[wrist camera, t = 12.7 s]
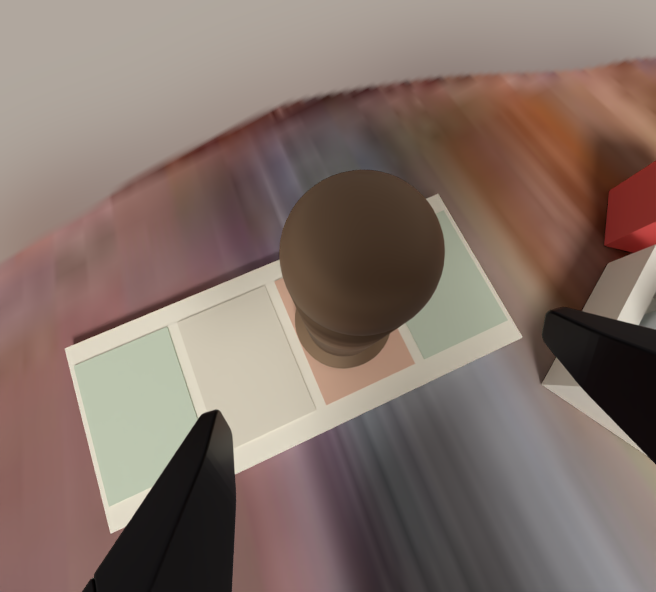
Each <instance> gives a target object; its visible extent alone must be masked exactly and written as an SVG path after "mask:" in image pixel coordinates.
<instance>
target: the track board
mask: <svg viewBox="0 0 656 592" xmlns="http://www.w3.org/2000/svg"><path fill="white" fill-rule="evenodd" d="M426 200H427V201H428V202H429V204H430V205H431V207H432V208H433V210H434V212H435V214H436V216H437V218H438V220H439V223H440V226H441V229H442V232H443V237H444V245H445V258H444V267H443V271H442V275H441V278H440V281H439V283H438V286H437V288H436V290H435V292H434V294H433V295H432V297H431V299H430V300H429V301H428V303H427V304H426V305H425V307H424V308H423V309H422V310H421V311H420V312H419V313H418V314H416V315H415V316H414V317H413V318H412V319H410V320H409V321H408V322H406V323H405V324H403V325H402V326H400V327H399V328H397V329H396V330H394V331H393V332H391V333H390V335H389V338H388V340H387V342H386V344H385V346H384V348H383V349H382V350H381V351H380V353H379V354H378V355H376V356H375V357H374V358H373V359H372V360H370V361H368V362H367V363H365V364H362V365H360V366H357V367H352V368H345V369H342V368H333V367H329V366H326V365H324V364H322V363H320V362H318V361H317V360H315V359H314V358H313V357H312V356H311V355H310V354H309V353H308V352H307V351H306V350H305V348H304V347H303V346H302V344H301V342H300V340H299V338H298V335H297V332H296V327H295V312H296V306H295V304H294V302H293V300H292V298H291V296H290V294H289V292H288V290H287V288H286V285H285V282H284V280H283V276H282V272H281V267H280V260H277V261H275V262H272V263H270V264H268V265H265V266H263V267H260V268H258V269H255V270H253V271H251V272H248V273H246V274H243V275H241V276H239V277H236V278H234V279H231V280H229V281H227V282H224V283H222V284H219V285H217V286H214V287H212V288H210V289H207V290H205V291H202V292H200V293H198V294H195V295H193V296H190V297H188V298H186V299H183V300H181V301H178V302H176V303H173V304H171V305H169V306H166V307H164V308H161V309H159V310H157V311H154V312H152V313H149V314H147V315H145V316H142V317H140V318H137V319H135V320H132V321H130V322H128V323H125V324H123V325H120V326H118V327H116V328H113V329H111V330H108V331H106V332H104V333H101V334H99V335H96V336H94V337H91V338H89V339H87V340H84V341H82V342H79V343H77V344H75V345H72V346H70V347H67V348H65V351H66V355H67V359H68V364H69V368H70V372H71V376H72V380H73V384H74V388H75V392H76V396H77V400H78V404H79V408H80V412H81V416H82V420H83V424H84V428H85V432H86V436H87V440H88V444H89V448H90V452H91V457H92V461H93V465H94V469H95V473H96V477H97V481H98V485H99V489H100V493H101V497H102V501H103V505H104V509H105V513H106V517H107V521H108V525H109V529H110V533H113V532H115V531H117V530H120V529H122V528H124V527H126V526H127V524H128V523H129V521H130V520H131V518H132V517H133V515H134V514H135V512H136V511H137V509H138V508H139V506H140V505H141V503H142V502H143V500H144V499H145V497H146V496H147V494H148V493H149V491H150V490H151V488H152V487H153V485H154V484H155V482H156V481H157V479H158V478H159V476H160V475H161V473H162V472H163V470H164V469H165V467H166V466H167V464H168V463H169V461H170V460H171V458H172V457H173V455H174V454H175V452H176V451H177V450H178V448H179V447H180V445H181V444H182V442H183V441H184V439H185V438H186V436H187V435H188V433H189V432H190V430H191V429H192V427H193V426H194V424H195V423H196V421H197V420H198V418H199V417H200V415H201V414H203V413H205V412H208V411H212V410H215V409H218V410H220V411H221V413H222V415H223V416H224V418H225V420H226V422H227V423H228V425H229V427H230V429H231V431H232V436H233V451H234V468H235V474H237V473H239V472H241V471H243V470H245V469H248V468H250V467H252V466H254V465H256V464H258V463H260V462H262V461H264V460H266V459H269V458H271V457H273V456H275V455H277V454H279V453H281V452H283V451H285V450H287V449H290V448H292V447H294V446H296V445H298V444H300V443H302V442H304V441H306V440H308V439H311V438H313V437H315V436H317V435H319V434H321V433H323V432H325V431H327V430H329V429H332V428H334V427H336V426H338V425H340V424H342V423H344V422H346V421H348V420H350V419H353V418H355V417H357V416H359V415H361V414H363V413H365V412H367V411H369V410H371V409H374V408H376V407H378V406H380V405H382V404H384V403H386V402H388V401H390V400H392V399H395V398H397V397H399V396H401V395H403V394H405V393H407V392H409V391H411V390H413V389H416V388H418V387H420V386H422V385H424V384H426V383H428V382H430V381H432V380H434V379H437V378H439V377H441V376H443V375H445V374H447V373H449V372H451V371H453V370H455V369H458V368H460V367H462V366H464V365H466V364H468V363H470V362H472V361H474V360H476V359H479V358H481V357H483V356H485V355H487V354H489V353H491V352H493V351H495V350H497V349H500V348H502V347H504V346H506V345H508V344H510V343H512V342H514V341H516V340H518V339H521V338H523V337H522V335H521V334H520V332H519V330H518V329H517V327H516V325H515V323H514V322H513V320H512V318H511V317H510V315H509V313H508V312H507V310H506V308H505V306H504V305H503V303H502V301H501V300H500V298H499V296H498V295H497V293H496V291H495V289H494V288H493V286H492V284H491V283H490V281H489V279H488V278H487V276H486V274H485V272H484V271H483V269H482V267H481V266H480V264H479V262H478V261H477V259H476V257H475V255H474V254H473V252H472V250H471V249H470V247H469V245H468V244H467V242H466V240H465V238H464V237H463V235H462V233H461V232H460V230H459V228H458V227H457V225H456V223H455V221H454V220H453V218H452V216H451V215H450V213H449V211H448V209H447V208H446V206H445V204H444V203H443V201H442V199H441V198H440V196H439V194H436V195H434V196H432V197H429V198H427V199H426Z"/></svg>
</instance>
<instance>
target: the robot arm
mask: <svg viewBox="0 0 656 592" xmlns="http://www.w3.org/2000/svg"><path fill="white" fill-rule="evenodd" d="M542 338H543V340H544V342H545V344H546V345H547V346H548V347H549V349H550V350H551V351H552V352H553V354H554V355H555V356H556V357H557V359H558V360H559V361H560V362H561V364H562V365H563V366H564V367H565V368H566V370H567V371H568V372H569V373H570V375H571V376H572V377H573V378H574V380H575V381H576V382H577V383H578V384H579V386H580V387H581V388H582V389H583V390H584V391H585V392H586V393H587V394H588V395H589V397H590V398H591V399H592V400H593V401H594V402H595V403H596V404H597V405H598V406H599V407H600V408H601V409H602V410H603V411H604V412H605V413H606V414H607V415H608V416H609V417H610V418H611V419H612V420H613V421H614V422H615V423H616V424H617V425H618V426H619V427H620V428H621V429H622V430H623V431H624V432H625V433H626V434H627V435H628V436H629V438H630V439H631V440H632V441H633V442H634V443H635V444H636V445H637V446H638V447H639V448H640V449H641V450H642V451H643V452H644V453H645V454H646V455H647V456H648V457H649V458H650V459H651V460H652V461H653V462H654V463H655V464H656V330H655V329H651V328H647V327H643V326H639V325H635V324H631V323H627V322H623V321H619V320H615V319H611V318H607V317H603V316H599V315H595V314H591V313H587V312H583V311H579V310H575V309H571V308H567V307H560V308H556V309H553V310H550V311H548V312H547V313H546V315H545V320H544V325H543V331H542ZM235 515H236V485H235V468H234V451H233V436H232V431H231V429H230V427H229V425H228V423H227V422H226V420H225V418H224V416H223V415H222V413H221V411H220V410H218V409H215V410H212V411H208V412H205V413H203V414H201V415H200V417H199V418H198V420H197V421H196V423H195V424H194V426H193V427H192V429H191V430H190V432H189V433H188V435H187V436H186V438H185V439H184V441H183V442H182V444H181V445H180V447H179V448H178V450H177V451H176V452H175V454H174V455H173V457H172V458H171V460H170V461H169V463H168V464H167V466H166V467H165V469H164V470H163V472H162V473H161V475H160V476H159V478H158V479H157V481H156V482H155V484H154V485H153V487H152V488H151V490H150V491H149V493H148V494H147V496H146V497H145V499H144V500H143V502H142V503H141V505H140V506H139V508H138V509H137V511H136V512H135V514H134V515H133V517H132V518H131V520H130V521H129V523H128V524H127V526H126V527H125V529H124V530H123V532H122V533H121V535H120V536H119V538H118V539H117V541H116V542H115V544H114V545H113V547H112V548H111V550H110V551H109V552H108V554H107V555H106V557H105V558H104V560H103V561H102V563H101V564H100V566H99V567H98V569H97V570H96V572H95V574H94V578H92V579H90V581H89V582H88V584H87V585H86V587H85V588H84V590H83V591H82V592H232V575H233V555H234V535H235Z"/></svg>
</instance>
